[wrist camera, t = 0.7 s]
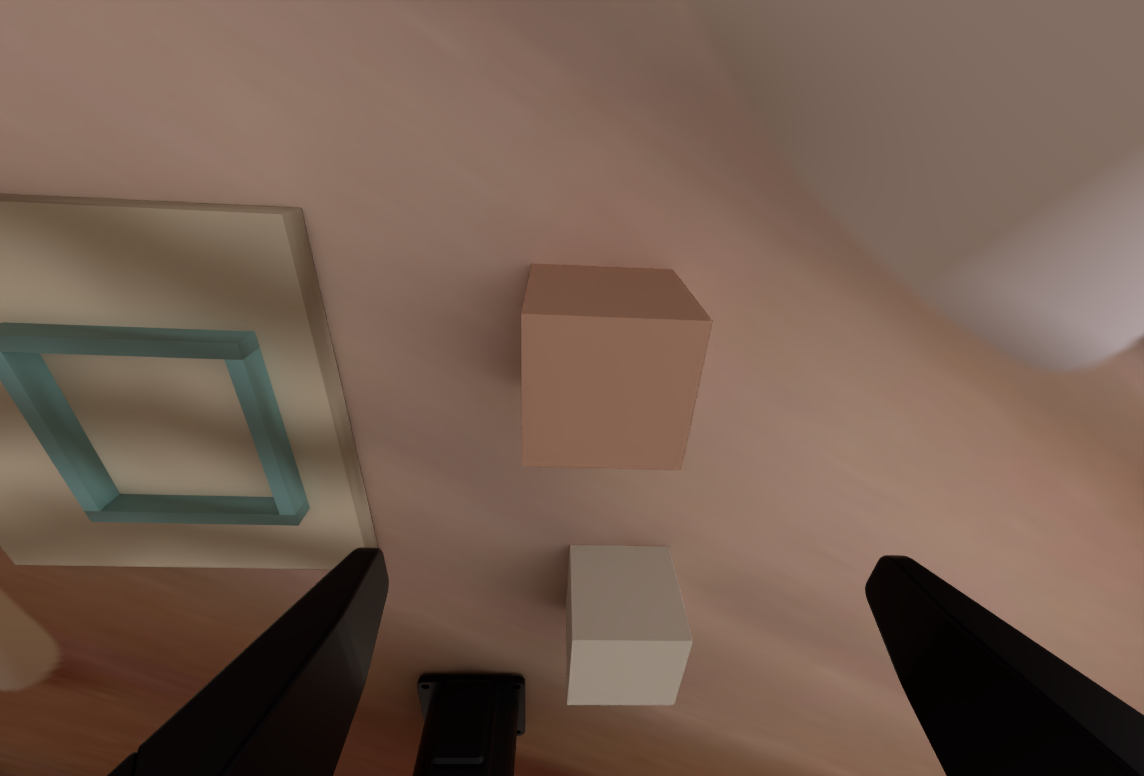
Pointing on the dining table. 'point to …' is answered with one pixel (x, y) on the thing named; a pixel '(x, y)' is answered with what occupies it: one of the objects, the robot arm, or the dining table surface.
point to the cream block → (624, 626)
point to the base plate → (170, 390)
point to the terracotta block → (609, 367)
